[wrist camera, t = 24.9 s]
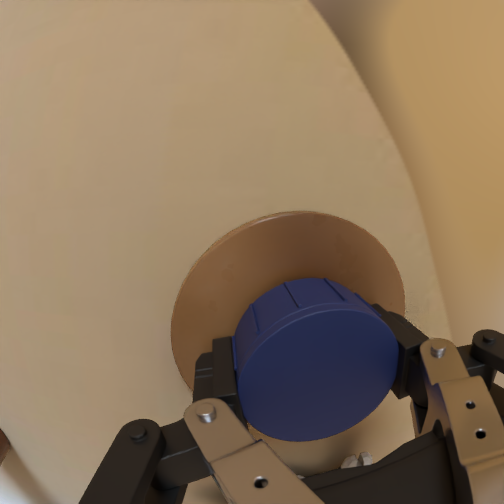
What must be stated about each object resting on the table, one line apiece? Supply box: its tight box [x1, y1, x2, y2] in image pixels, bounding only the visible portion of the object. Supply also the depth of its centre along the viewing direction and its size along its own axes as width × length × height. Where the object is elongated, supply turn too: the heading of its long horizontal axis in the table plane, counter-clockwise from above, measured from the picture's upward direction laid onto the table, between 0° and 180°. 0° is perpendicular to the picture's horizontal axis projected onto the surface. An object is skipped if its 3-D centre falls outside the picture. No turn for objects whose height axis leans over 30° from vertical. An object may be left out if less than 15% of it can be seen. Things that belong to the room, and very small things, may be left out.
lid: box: [231, 278, 399, 442], centre depth 10 cm, size 5×5×3 cm
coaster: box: [171, 211, 405, 423], centre depth 12 cm, size 10×10×1 cm
